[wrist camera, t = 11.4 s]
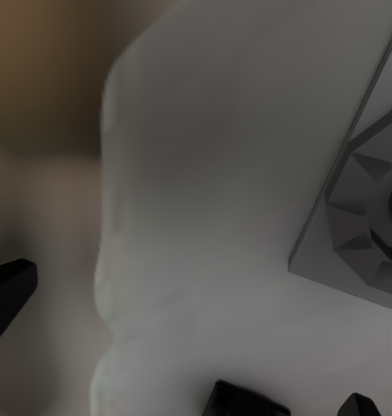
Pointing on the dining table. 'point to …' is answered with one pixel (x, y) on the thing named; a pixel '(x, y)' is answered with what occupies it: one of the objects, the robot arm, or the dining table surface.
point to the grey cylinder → (390, 204)
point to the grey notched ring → (356, 206)
